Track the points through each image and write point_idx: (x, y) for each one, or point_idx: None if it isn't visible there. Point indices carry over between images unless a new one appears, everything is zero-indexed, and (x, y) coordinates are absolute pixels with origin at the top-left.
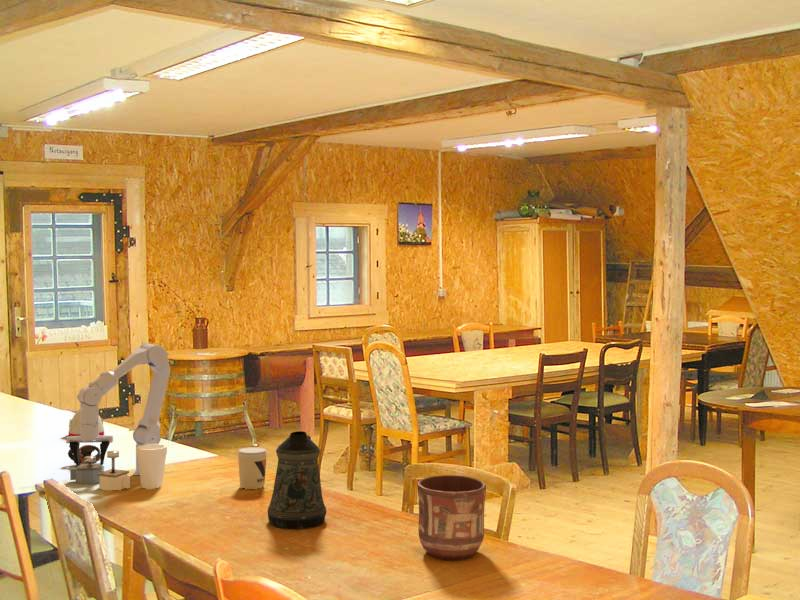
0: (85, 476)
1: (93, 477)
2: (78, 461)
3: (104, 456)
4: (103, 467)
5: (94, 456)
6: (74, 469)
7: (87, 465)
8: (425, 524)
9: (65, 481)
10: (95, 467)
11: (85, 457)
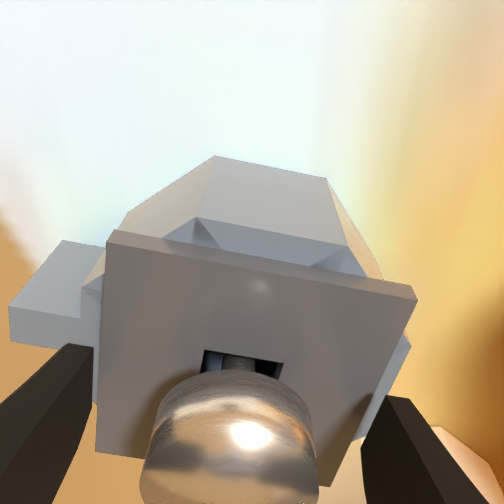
0: None
1: None
2: (75, 431)
3: (461, 485)
4: (395, 370)
5: (304, 475)
6: (62, 346)
7: (206, 346)
8: None
9: (18, 229)
10: None
11: (162, 494)
